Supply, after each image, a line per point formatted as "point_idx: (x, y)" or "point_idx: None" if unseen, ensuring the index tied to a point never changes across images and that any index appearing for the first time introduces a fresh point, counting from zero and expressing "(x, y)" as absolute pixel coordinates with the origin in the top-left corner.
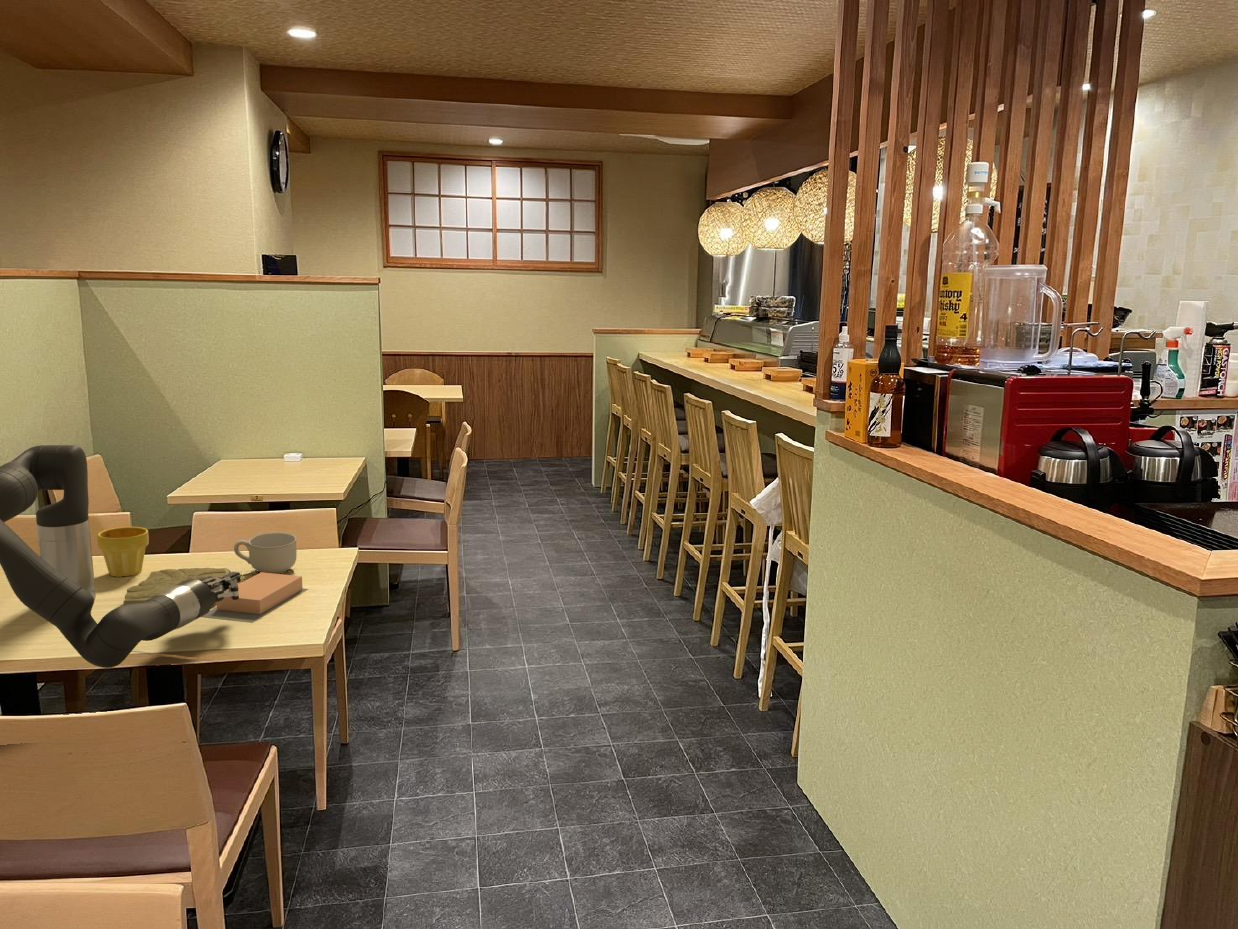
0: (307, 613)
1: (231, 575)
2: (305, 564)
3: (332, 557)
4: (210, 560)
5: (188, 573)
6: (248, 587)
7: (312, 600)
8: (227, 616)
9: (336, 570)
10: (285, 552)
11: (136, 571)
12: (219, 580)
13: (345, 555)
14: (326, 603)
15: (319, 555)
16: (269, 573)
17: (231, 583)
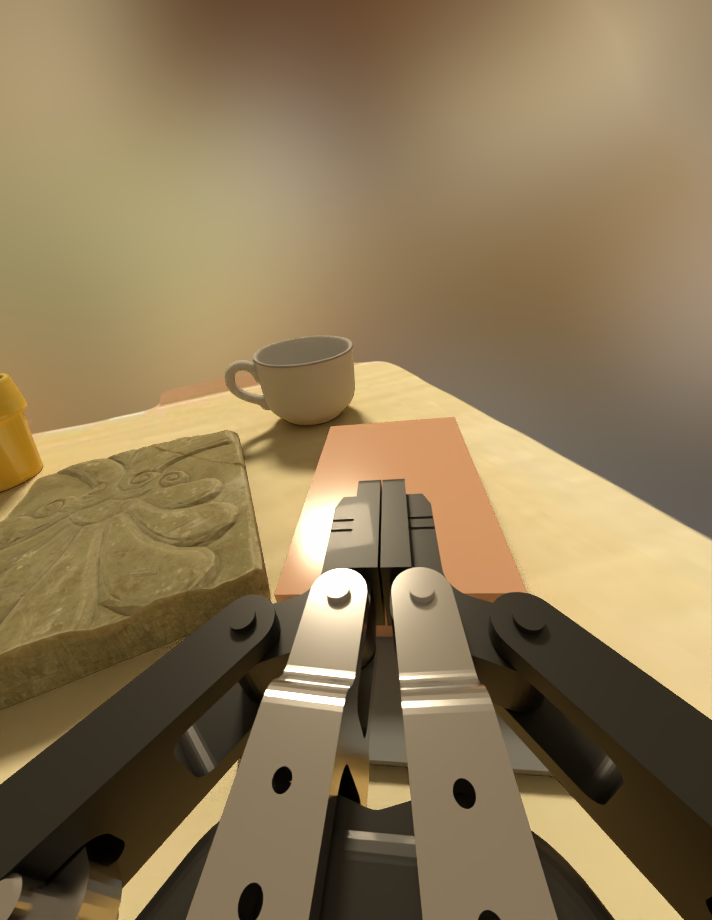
0: (654, 564)
1: (401, 529)
2: (356, 392)
3: (381, 373)
4: (182, 416)
5: (136, 466)
6: None
7: (535, 483)
8: (382, 706)
9: (428, 391)
10: (345, 369)
11: (22, 475)
12: (486, 800)
13: (396, 367)
14: (600, 488)
15: (356, 375)
16: (356, 425)
17: (682, 787)
